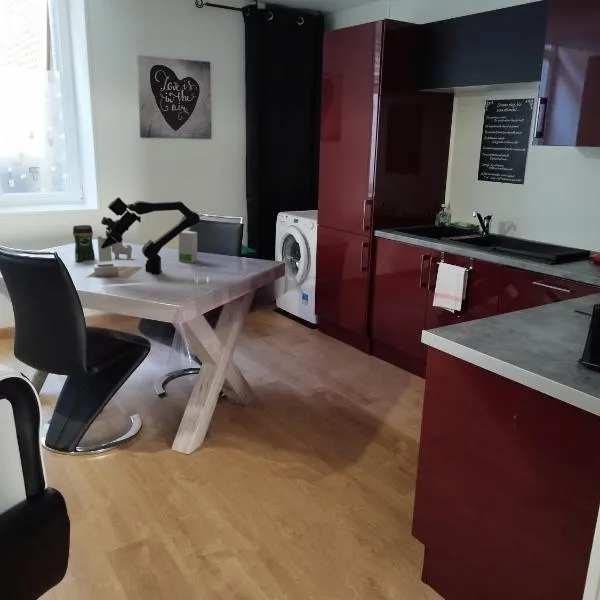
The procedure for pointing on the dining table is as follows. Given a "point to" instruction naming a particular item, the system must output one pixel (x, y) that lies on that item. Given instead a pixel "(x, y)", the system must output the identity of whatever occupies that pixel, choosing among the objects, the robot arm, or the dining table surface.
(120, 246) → the dog figurine
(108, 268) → the keyed slot
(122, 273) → the walnut board
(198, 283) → the dining table surface
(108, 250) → the keyed peg
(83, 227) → the coffee jar
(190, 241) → the skincare box
